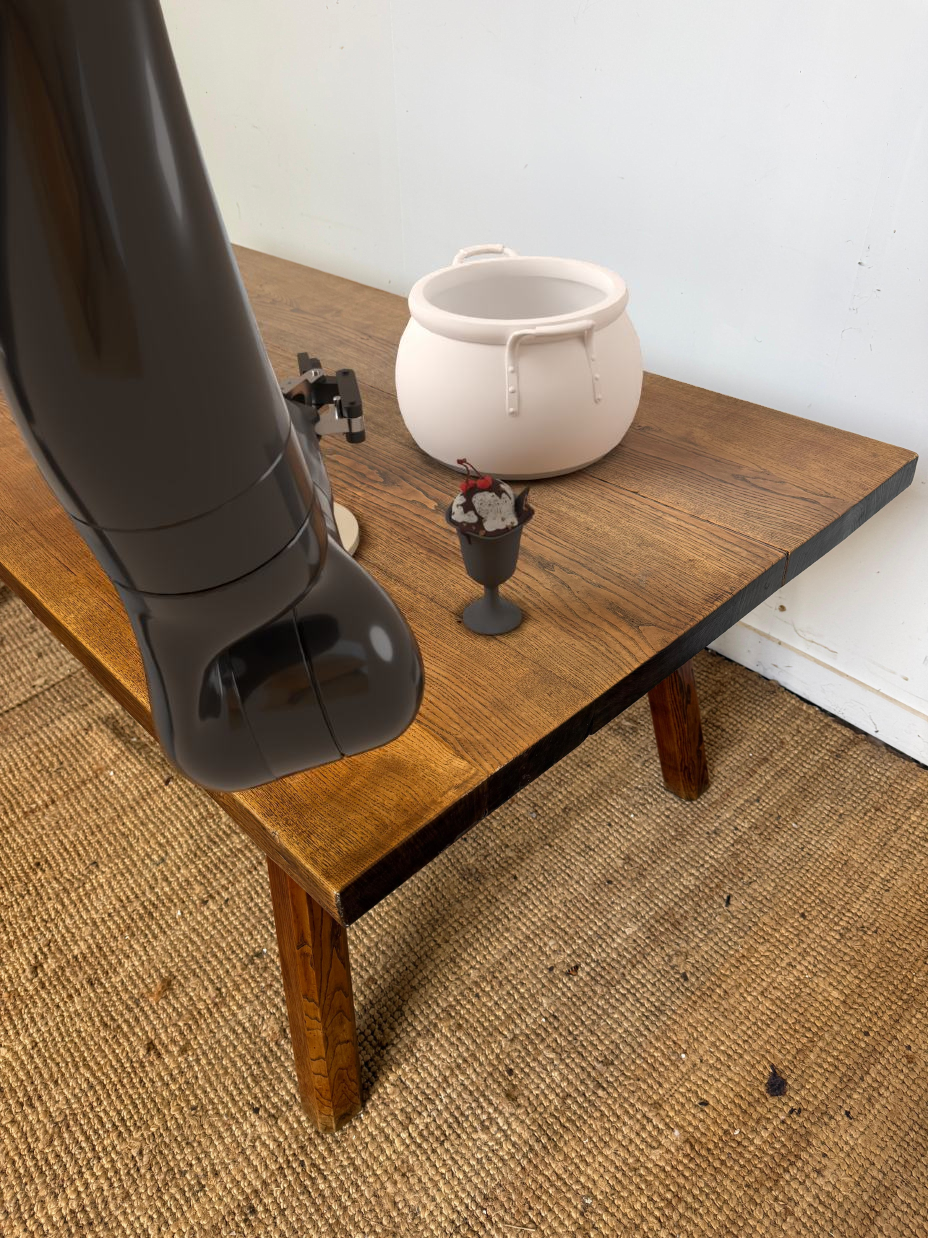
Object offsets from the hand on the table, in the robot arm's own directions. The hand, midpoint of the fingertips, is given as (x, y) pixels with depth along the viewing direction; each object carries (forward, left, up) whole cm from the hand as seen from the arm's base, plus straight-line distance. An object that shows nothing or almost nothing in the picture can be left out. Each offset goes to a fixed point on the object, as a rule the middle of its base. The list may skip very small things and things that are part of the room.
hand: (240, 373), depth 60 cm
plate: (0, +13, -22) cm, 26 cm away
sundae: (+16, -4, -22) cm, 28 cm away
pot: (+28, +27, -22) cm, 45 cm away
